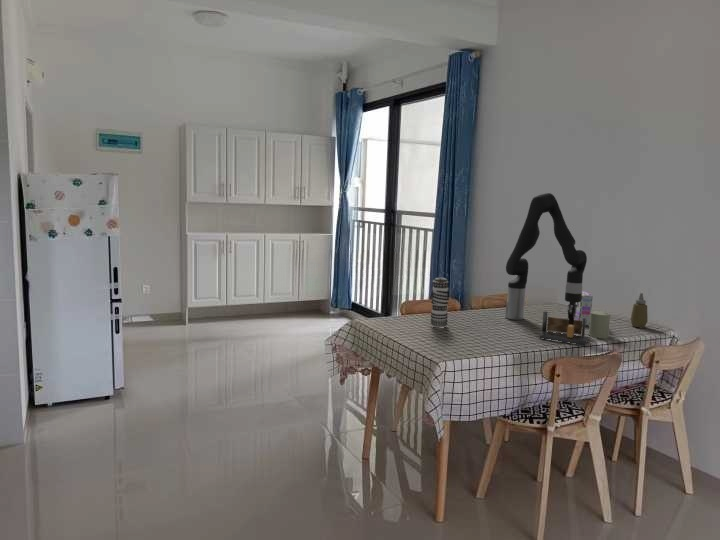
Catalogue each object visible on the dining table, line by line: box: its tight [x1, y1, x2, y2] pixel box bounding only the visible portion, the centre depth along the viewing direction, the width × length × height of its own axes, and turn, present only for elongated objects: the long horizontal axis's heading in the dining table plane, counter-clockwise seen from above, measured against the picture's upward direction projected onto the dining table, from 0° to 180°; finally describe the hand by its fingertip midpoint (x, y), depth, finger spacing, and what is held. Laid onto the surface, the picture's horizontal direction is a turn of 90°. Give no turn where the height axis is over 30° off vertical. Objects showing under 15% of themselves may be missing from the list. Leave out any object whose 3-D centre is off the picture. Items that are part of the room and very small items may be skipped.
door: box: [546, 316, 583, 335], centre depth 277 cm, size 16×2×7 cm, turn 63°
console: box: [539, 330, 588, 347], centre depth 266 cm, size 20×9×2 cm, turn 63°
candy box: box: [574, 290, 593, 327], centre depth 300 cm, size 14×6×16 cm, turn 168°
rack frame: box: [541, 310, 586, 337], centre depth 278 cm, size 20×2×10 cm, turn 63°
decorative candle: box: [430, 277, 450, 328], centre depth 286 cm, size 9×9×25 cm
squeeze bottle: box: [630, 292, 648, 328], centre depth 294 cm, size 8×8×18 cm
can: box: [588, 310, 611, 339], centre depth 275 cm, size 9×9×12 cm
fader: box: [567, 324, 574, 338], centre depth 264 cm, size 2×5×5 cm, turn 153°
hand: (570, 326), depth 273 cm, fingers closed
